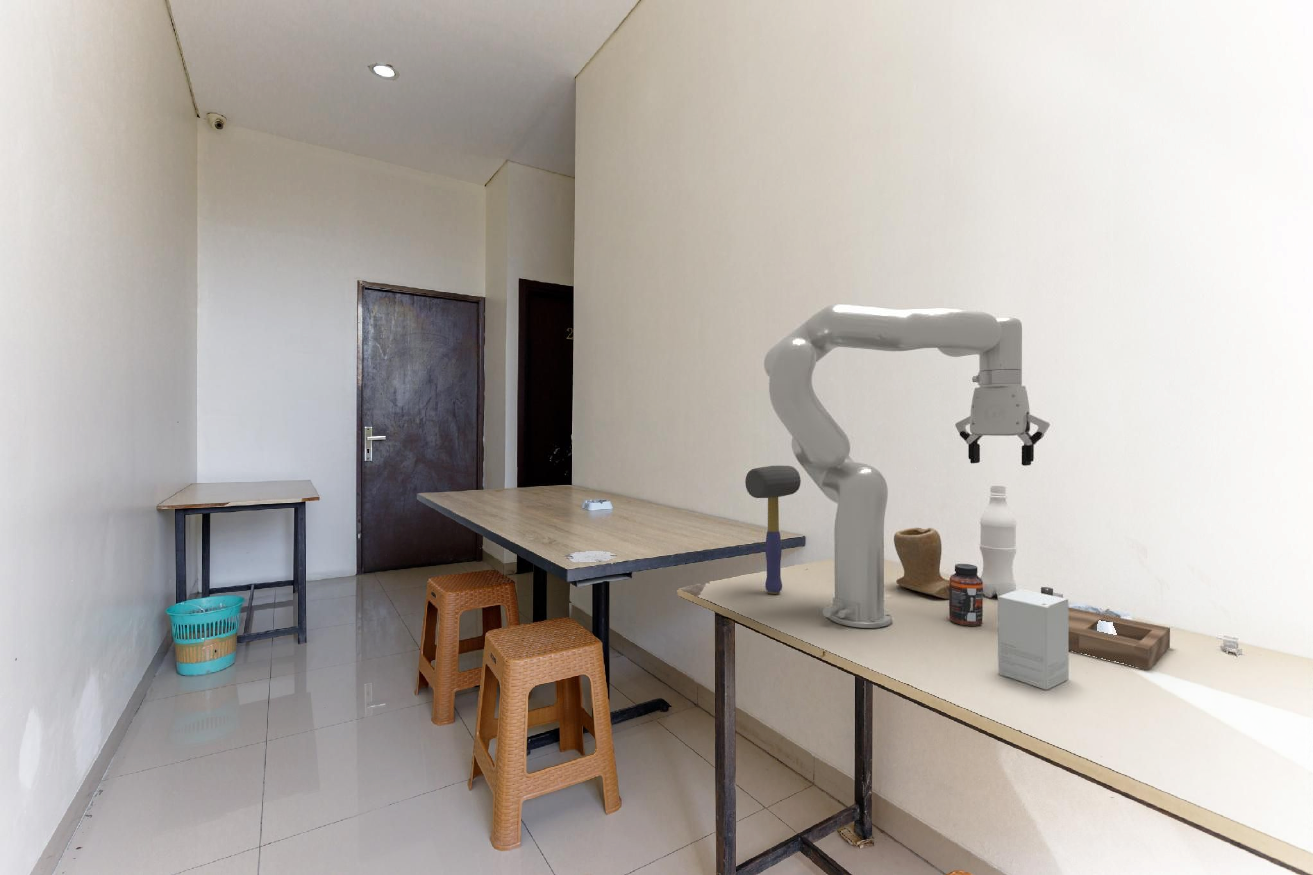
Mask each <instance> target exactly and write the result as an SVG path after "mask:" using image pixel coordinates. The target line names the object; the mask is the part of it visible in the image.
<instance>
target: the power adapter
mask: <svg viewBox="0 0 1313 875" xmlns="http://www.w3.org/2000/svg"><path fill="white" fill-rule="evenodd" d="M1216 639H1218V640H1222V645H1219V649H1221V651H1224V652H1225V653H1226V655H1228V654H1229V651H1233V652H1235V656H1236V657H1237V658H1239V656H1241V655H1242V654H1243V649H1242V648H1239V642H1238V637H1236V636H1232V635H1223V637H1220V636H1216Z"/></svg>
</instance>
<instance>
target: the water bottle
mask: <svg viewBox="0 0 1313 875" xmlns="http://www.w3.org/2000/svg"><path fill="white" fill-rule="evenodd" d="M1006 488H1007V487H1006V486H1003V485H1001V486H1000V485H992V486H991V485H990V492H989V495H988V497H989V503H988V505H987V507H986V508H985V509H984V511H983V513H982V514H981V517H980V521H979V524H980V543H979V550H980V553H981V555H982V563H983V564H982V572H981V576H980V578H981V579H982V581H983V596H985V597H986V598H993V596H995V594H996V596H997V597H998V596H1001V595H1004V594H1007V593H1010V592H1013V591H1016V590H1017V589H1016V588H1017V584H1016V580H1015V579H1014V573H1013V572H1014V571H1013V570H1014V569H1013V567H1014V566H1013V564H1014V559H1015V556H1016V554H1017V547H1016V541H1017V540H1016V532H1017V528H1016V527H1017V521H1016V518H1015V516H1014V514H1013V513H1012V511H1011V509H1010V507H1009V506H1008V503H1007V498H1008V496H1007V493H1006V492H1007V491H1006V490H1007V489H1006Z"/></svg>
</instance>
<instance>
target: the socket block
mask: <svg viewBox="0 0 1313 875" xmlns="http://www.w3.org/2000/svg"><path fill="white" fill-rule="evenodd" d="M1099 620H1101V621H1106V622H1113V626H1114V628H1115V630H1116V633H1117V635H1113V634H1108V633H1104V632H1099V631H1097V624H1098V621H1099ZM1170 647H1171V628H1170V627H1167V626H1162V625H1158V624H1152V623H1147V622H1143V621H1139V620H1134V619H1128V618H1123V617H1118V616H1113V615H1108V614H1103V613H1098V612H1093V611H1090V610H1089V611H1087V610H1083V609H1078V608H1073V607H1069V606H1068V652H1070V651H1073V652H1072V653H1074V652H1076V653H1075V654H1078V653H1082V654H1087V655H1090V656H1095V657H1097V658H1096V659H1098V658H1103V659H1106V660H1110V661H1116V662H1119V663H1124V664H1127V665H1131V666H1134V667H1138V668H1140V669H1139V670H1142V669H1144V670H1143V671H1146V670H1148V671H1149V670H1150V669H1151V668H1152V667H1153V666H1154V665H1155V664H1156V663H1157V662H1158V661H1159V660H1160V659H1161V657H1163V656H1164V654H1165V653H1166V652H1167V651H1168V650H1169V649H1170ZM1082 654H1081V655H1082ZM1090 656H1089V657H1090ZM1106 660H1105V661H1106ZM1110 661H1109V662H1110ZM1134 667H1133V668H1134ZM1138 668H1137V669H1138Z"/></svg>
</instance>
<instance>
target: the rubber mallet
mask: <svg viewBox="0 0 1313 875" xmlns="http://www.w3.org/2000/svg"><path fill="white" fill-rule="evenodd" d="M801 479H802V478H801V476H800V473H799V471H798V470H797V469H796V468H795V467H794V466H790V465H768V466H761V467H755V468H751V469H750V470H749V471H748V472H747V473H746V476H745V481H744V482H745V483H744V484H745V488H746V491H747V493H748V494H749V495H750V496H751V497H753V498H755V499H767V532H766V536H765V537H766V538H765V560H766V579H765V585H764V588H765V589H766V590H765V591H767V593H768V594H770V595H771V594H772V595H776V594H780V593H781V591H782V589H783V583H782V578H781V577H782V576H781V572H782V570H781V564H782V563H781V560H782V540H781V532H780V525H779V524H780V522H779V521H780V517H779V515H780V514H779V498H780V497H785V496H790V495H793V494H795V493H797V492H798V490H799V489H800V487H801V481H802V480H801Z"/></svg>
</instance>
